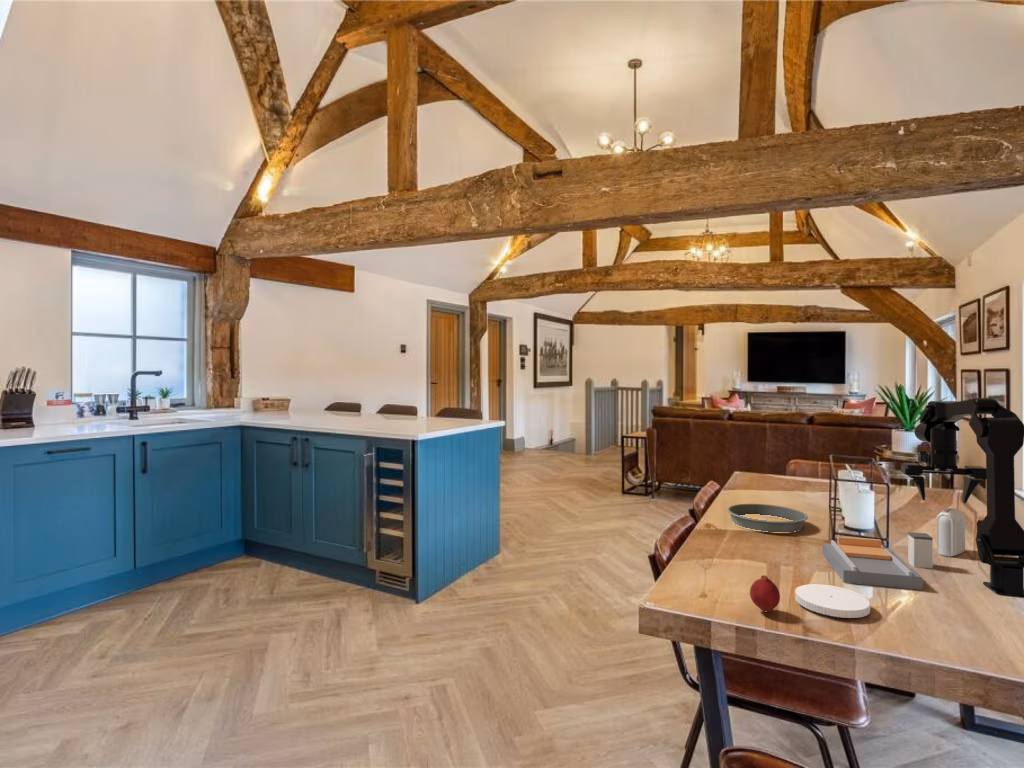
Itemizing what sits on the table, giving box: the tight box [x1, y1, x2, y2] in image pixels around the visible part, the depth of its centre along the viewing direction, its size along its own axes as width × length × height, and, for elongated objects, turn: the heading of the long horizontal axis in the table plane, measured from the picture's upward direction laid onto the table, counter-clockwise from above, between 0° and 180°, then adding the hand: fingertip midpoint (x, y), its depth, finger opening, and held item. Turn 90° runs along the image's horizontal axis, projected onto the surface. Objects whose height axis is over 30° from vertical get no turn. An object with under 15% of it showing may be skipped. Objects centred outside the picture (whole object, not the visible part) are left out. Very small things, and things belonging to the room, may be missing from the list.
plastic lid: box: [794, 583, 871, 619], centre depth 116 cm, size 14×14×2 cm
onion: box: [749, 574, 781, 612], centre depth 114 cm, size 6×6×8 cm
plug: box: [907, 532, 934, 570], centre depth 140 cm, size 4×4×8 cm
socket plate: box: [822, 539, 923, 591], centre depth 137 cm, size 22×16×4 cm
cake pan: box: [726, 503, 809, 533], centre depth 180 cm, size 25×25×4 cm
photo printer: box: [936, 507, 966, 558], centre depth 150 cm, size 10×4×12 cm, turn 123°
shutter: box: [836, 536, 891, 560], centre depth 141 cm, size 8×10×3 cm
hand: (943, 501), depth 150 cm, fingers open, 9 cm apart
